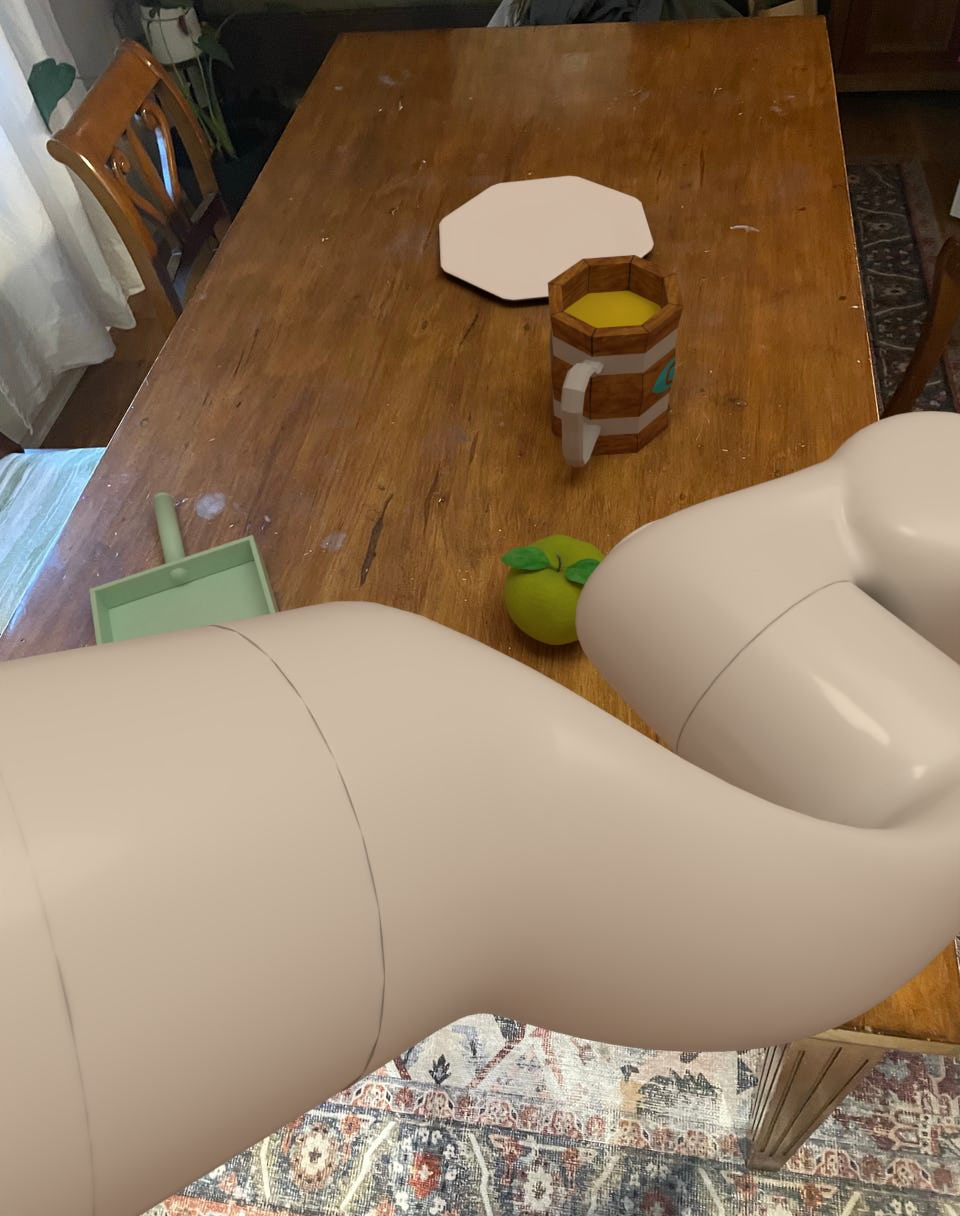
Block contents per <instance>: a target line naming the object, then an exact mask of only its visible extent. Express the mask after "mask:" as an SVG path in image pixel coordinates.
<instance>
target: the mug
mask: <svg viewBox="0 0 960 1216" xmlns="http://www.w3.org/2000/svg"><path fill="white" fill-rule="evenodd" d="M548 295H549V298H548V307H549V318H550V331H549V332H550V333H549V344H548V346H549V347H548V348H549V363H550V365H549V366H550V378H551V391H550V399H549V406H550V407H549V408H550V420H551V421H550V422H551V433H552V435H554V436H556V437H557V438H559V439H560V440H561V446H562V448H561V449H562V451H561V453H562V456H563V459H564V461H565V463H566V465H568V466H570V467H573V468H583V467H584V466H585V465H586V464H587V463H588V461H589V460H590V458H591V456H598V455H617V454H618V455H619V454H633V453H634V454H635V453H639V452H640V451H641V450H642V449H644V447H646V446H647V445H649V443H650V442H652V441H653V440H654V439H656V437H658V436H659V435H660V434H661V433H662V432H664V431H665V430H666V429H668V427H669V412H668V411H669V400H670V392H671V388H672V383H673V380H674V376H675V372H676V345H677V339H678V338H677V337H678V329H679V325H680V320H681V317H682V313H683V310H684V302H683V297H682V293H681V288H680V285H679V279H678V275H677V273H676V272H674V271H671V270H669V269H667V268H665V267H663V266H661V265H658V264H656V263H653V262H652V261H649V260H647V259H645V258H640V257H638V256H636V255H627V256H613V257H600V258H586V259H582V260H580V261H579V262H577V263H576V264H574V265H573V266H571V267H570V268H569V269H567V270H566V271H564V272H563V273H561V274H560V275H558V276H557V277H556V278H554V279H553V280H551V281H550V282H548Z"/></svg>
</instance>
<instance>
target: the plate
mask: <svg viewBox="0 0 960 1216" xmlns="http://www.w3.org/2000/svg"><path fill="white" fill-rule="evenodd" d="M438 228H439V229H438V230H439V255H440V257H439V258H440V268H441V269H442V271H443V272H444V273H445V274H447V275H449V276H451V277H453V278H456V279H458V280H460V281H463V282H464V283H466V284H468V285H471V286H472V287H475V288H477V289H479V290H482V291H484V292H485V293H488V294H490V295H492V296H494V297H496V298H498V299H501V300H502V301H507V302H508V301H509V302H523V301H530V300H541V299H549V295H548V282H550V281H551V280H553V279H554V278H556V277H557V276H558V275H560V274H561V273H563V272H564V271H566V270H567V269H569V268H570V267H571V266H573V265H574V264H576V263H577V262H579V261H580V260H582V259H586V258H600V257H613V256H627V255H636V256H638V257H640V258H642V259H644V257H646V256H647V255H648V254H650V253H651V252H652V251H653V248H654V246H655V243H654V240H653V236H652V233H651V230H650V227H649V223H648V221H647V217H646V213H645V210H644V207H643V204H642V201H640V200H639V199H638V198H636V197H635V196H633V195H629V194H628V193H627V194H626V193H624V192H621V191H618V190H616V189H613V188H610V187H608V186H605V185H602V184H599V183H597V182H593V181H591V180H588V179H586V178H583V177H580V176H576V175H563V176H554V177H544V178H533V179H526V180H518V181H507V182H499V183H496V184H493V185H490V186H489V187H488V188H486V189H484V190H483V191H482V192H480V193H479V194H477V195H476V196H474V197H473V198H471V199H470V200H468V201H467V202H465V203H463V204H462V205H461V206H458V208H456V209H455V210H453V211H452V212H450V213H448V215H446V216H444V217H443V218H441V220H440V222H439V224H438Z"/></svg>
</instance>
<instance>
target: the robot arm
mask: <svg viewBox="0 0 960 1216" xmlns="http://www.w3.org/2000/svg"><path fill="white" fill-rule="evenodd" d="M575 625H576V632H577V636H578V639H579V640H578V641H579V645H580V647H581V650H582V651H583V653H584V655H585V656H586V658H587V660H588V662H589V663H590V664H591V665H592V666H593V668H594V669H595V670H596V672H597V673H598V674H599V676H600V677H601V679H603V680H604V682H606V683H607V685H609V686H610V688H611V689H612V690H613V691H614V692H615V693H616V694H617V695H618V696H619V697H620V698H621V699H622V701H624V702H625V703H626V704H627V705H628V706H629V708H631V710H632V711H633V712H634V713H635V714H636V715H637V716H638V717H639V718H640V719H641V720H642V721H643V722H644V723H645V724H646V725H647V726H648V727H649V728H650V729H651V730H652V731H653V732H654V733H655V735H656V736H658V738H660V740H661V741H662V742H663V743H664V744H665V745H666V747H668V748H669V749H670V750H669V749H667V748H666V747H664V746H663V745H661V744H660V743H657V742H656V741H654V740H652V739H651V738H650V737H648V736H646V735H644V734H643V733H641V732H640V731H638V730H637V729H635V728H633V727H632V726H631V725H628V724H627V723H625V722H624V721H621V720H620V719H618V718H617V717H615V716H614V715H612V714H610V713H609V712H607V711H605V710H604V709H603V708H601V707H600V706H599V707H598V706H597V705H596V704H594V703H592V702H591V701H589V700H588V699H585V698H584V697H582V696H581V695H579V694H577V693H575V692H574V691H572V690H571V689H569V688H568V687H566V686H564V685H563V684H561V683H559V682H558V681H556V680H554V679H552V678H550V677H548V676H546V675H545V674H543V673H541V672H539V671H538V670H536V669H534V668H532V667H530V666H529V665H527V664H524V663H523V662H521V661H518V660H517V659H515V658H513V657H511V656H509V655H507V654H505V653H503V652H501V651H499V650H497V649H495V648H493V647H492V646H489V645H487V644H485V643H483V642H481V641H479V640H477V639H475V638H474V637H471V636H469V635H466V634H463V633H461V632H459V631H458V630H455V629H453V628H450V627H448V626H446V625H443V624H441V623H439V622H438V621H435V620H433V619H431V618H429V617H426V616H423V615H421V614H417V613H414V612H411V611H407V610H403V609H401V608H396V607H393V606H389V605H385V604H381V603H378V602H374V601H364V600H350V601H349V600H345V601H344V600H343V601H342V600H341V601H340V600H339V601H329V602H324V603H323V602H322V603H318V604H313V605H307V606H302V607H297V608H292V609H287V610H282V611H279V612H277V613H272V614H267V615H262V616H256V617H251V618H245V619H240V620H234V621H228V622H222V623H216V624H210V625H204V626H200V627H196V628H190V629H184V630H179V631H173V632H167V633H162V634H156V635H150V636H145V637H139V638H133V639H128V640H122V641H116V642H111V643H105V644H99V645H97V644H94V645H88V646H84V647H77V648H72V649H66V650H60V651H54V652H49V653H43V654H36V655H32V656H26V657H20V658H15V659H9V660H3V661H0V1216H142V1215H144V1214H145V1213H147V1212H149V1211H151V1210H152V1209H153V1208H155V1207H157V1206H158V1205H160V1204H162V1203H163V1202H165V1201H166V1200H168V1199H169V1198H171V1197H173V1196H175V1195H176V1194H178V1193H179V1192H182V1191H183V1190H184V1189H186V1188H188V1187H189V1186H191V1185H192V1184H194V1183H195V1182H197V1181H198V1180H201V1179H203V1177H206V1176H207V1175H209V1174H210V1173H212V1172H213V1171H215V1170H216V1169H219V1168H220V1167H221V1166H224V1165H225V1164H227V1163H228V1162H229V1161H231V1160H233V1159H234V1158H236V1157H237V1156H239V1155H241V1154H243V1153H244V1152H246V1151H247V1150H249V1149H250V1148H252V1147H254V1146H256V1145H257V1144H259V1143H260V1142H262V1141H263V1140H265V1139H267V1138H268V1137H270V1136H272V1135H273V1134H275V1133H277V1132H278V1131H281V1129H283V1128H285V1127H287V1126H288V1125H289V1124H291V1123H293V1122H294V1121H296V1120H297V1119H299V1118H301V1117H302V1116H304V1115H305V1114H307V1113H309V1112H310V1111H312V1110H314V1109H315V1108H317V1107H319V1106H320V1105H321V1104H324V1103H325V1102H326V1101H329V1100H330V1099H332V1098H333V1097H335V1096H336V1095H338V1094H339V1093H341V1092H344V1091H347V1090H349V1089H350V1088H352V1087H353V1086H355V1085H356V1084H358V1083H359V1082H361V1081H362V1080H364V1079H365V1078H367V1077H368V1076H370V1075H372V1074H373V1073H375V1072H376V1071H378V1070H379V1069H381V1068H383V1067H384V1066H386V1065H387V1064H389V1063H390V1062H392V1061H393V1060H395V1059H396V1058H398V1057H399V1056H401V1055H402V1054H404V1053H406V1052H407V1051H408V1050H410V1049H412V1048H413V1047H415V1046H417V1045H418V1044H420V1043H421V1042H423V1041H425V1040H426V1039H428V1038H429V1037H430V1036H432V1035H433V1034H435V1033H437V1032H438V1031H440V1030H442V1029H443V1028H446V1027H447V1026H450V1025H451V1024H453V1023H455V1022H457V1021H458V1020H461V1019H463V1018H467V1017H470V1016H474V1015H491V1016H496V1017H500V1018H504V1019H508V1020H511V1021H514V1022H515V1021H516V1022H519V1023H522V1024H526V1025H529V1026H532V1027H536V1028H539V1029H543V1030H546V1031H550V1032H553V1033H558V1034H561V1035H565V1036H569V1037H572V1038H573V1037H574V1038H578V1039H582V1040H587V1041H592V1042H597V1043H602V1044H608V1045H613V1046H619V1047H626V1048H634V1049H641V1050H649V1051H661V1052H663V1051H664V1052H675V1053H676V1052H677V1053H678V1052H679V1053H727V1052H739V1051H751V1050H758V1049H759V1050H761V1049H766V1048H772V1047H776V1046H777V1047H778V1046H781V1045H786V1044H790V1043H795V1042H799V1041H803V1040H806V1039H810V1038H812V1037H815V1036H817V1035H820V1034H823V1033H826V1032H828V1031H831V1030H833V1029H835V1028H838V1027H841V1026H842V1025H844V1024H847V1023H848V1022H850V1021H852V1020H855V1019H856V1018H858V1017H861V1016H862V1015H864V1014H866V1013H867V1012H868V1011H870V1010H872V1009H874V1008H875V1007H876V1006H878V1005H880V1004H881V1003H883V1002H884V1001H886V1000H887V999H888V998H890V997H891V996H893V995H895V994H896V993H897V992H898V991H900V990H901V989H902V988H903V987H905V986H907V984H908V983H909V982H912V980H913V979H915V978H916V977H917V976H918V975H919V974H920V973H922V971H924V970H925V968H926V967H928V966H929V964H930V963H932V962H933V961H934V960H935V959H936V958H937V957H938V956H939V955H940V954H941V953H942V952H944V950H945V949H946V948H947V947H948V946H949V945H950V944H951V943H952V942H953V941H954V940H955V939H956V938H957V937H958V936H959V934H960V413H956V412H951V411H937V410H936V411H935V410H923V411H911V412H905V413H899V414H898V413H897V414H895V415H892V416H888V417H885V418H882V419H879V420H877V421H875V422H873V423H871V424H869V425H867V426H865V427H863V428H861V429H859V430H858V431H856V432H855V433H854V434H853V435H850V437H848V439H846V440H845V441H844V442H843V443H841V444H840V446H839V447H838V448H837V449H836V451H835V452H834V453H833V454H832V455H831V456H830V457H828V458H827V459H825V460H823V461H821V462H818V463H816V464H813V465H810V466H808V467H805V468H802V469H800V470H797V471H794V472H792V473H789V474H786V475H783V476H780V477H776V478H774V479H770V480H767V481H765V482H761V483H758V484H755V485H752V486H749V487H745V488H742V489H739V490H736V491H734V492H730V493H725V494H723V495H720V496H716V497H713V498H710V499H707V500H704V501H701V502H699V503H695V504H693V505H690V506H688V507H685V508H683V509H680V510H677V511H675V512H673V513H671V514H668V515H667V516H664V517H663V518H659V519H655V520H653V521H651V522H647V523H645V524H643V525H641V526H640V527H638V528H636V529H634V530H633V531H632V532H630V533H628V534H627V535H626V536H624V537H623V538H622V539H621V540H620V541H619V542H617V544H616V545H614V546H613V547H612V549H611V550H610V551H609V552H608V553H607V554H606V555H605V558H604V559H603V560H602V561H601V563H600V564H599V565H598V566H597V568H596V569H595V570H594V571H593V573H592V574H591V575H590V576H589V578H588V580H587V582H586V583H585V585H584V587H583V589H582V591H581V594H580V597H579V599H578V603H577V607H576V620H575Z"/></svg>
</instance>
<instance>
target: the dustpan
mask: <svg viewBox="0 0 960 1216" xmlns="http://www.w3.org/2000/svg"><path fill="white" fill-rule="evenodd" d="M152 506H153V511H154V515H155V521H156V525H157V530H158V536H159V540H160V543H161V549H162V555H163V560H164V564H160V565H157V566H153V567H152V568H149V569H145V570H143V571H139V572H136V573H133V574H130V575H127V576H124V577H121V578H118V579H116V580H113V581H109V582H106V583H103V584H100V585H96V586H94V587H91V588H89V590H88V591H89V597H90V606H91V613H92V621H93V629H94V636H95V645H99V644H105V643H111V642H116V641H122V640H128V639H133V638H139V637H145V636H150V635H156V634H162V633H167V632H173V631H179V630H184V629H190V628H196V627H200V626H204V625H210V624H216V623H222V622H228V621H234V620H240V619H245V618H251V617H256V616H262V615H267V614H272V613H277V612H280V611H279V607H278V603H277V600H276V597H275V593H274V590H273V587H272V583H271V580H270V576H269V573H268V570H267V566H266V563H265V560H264V558H263V554H262V552H261V550H260V548H259V546H258V544H257V541H256V539H255V537H254V535H253V534H251V535H247V536H245V537H242V538H239V539H235V540H233V541H229V542H227V543H226V542H225V543H224V544H221V545H217V546H215V547H212V548H208V549H205V550H203V551H199V552H196V553H194V554H191V555H187V556H186V551H185V548H184V543H183V540H182V534H181V530H180V525H179V521H178V517H177V513H176V508H175V503H174V499H173V497H172V495H171V494H170V493H168V492H163V491H161V492H158V493H156V494H155V495H154V496H153V498H152Z"/></svg>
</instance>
